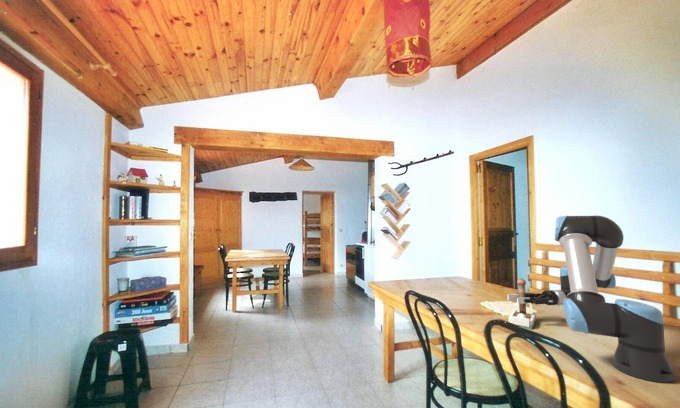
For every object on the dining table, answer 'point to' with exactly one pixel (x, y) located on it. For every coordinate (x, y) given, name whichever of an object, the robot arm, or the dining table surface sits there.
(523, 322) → the white open tray
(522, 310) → the brown upright rod
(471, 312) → the dining table surface
